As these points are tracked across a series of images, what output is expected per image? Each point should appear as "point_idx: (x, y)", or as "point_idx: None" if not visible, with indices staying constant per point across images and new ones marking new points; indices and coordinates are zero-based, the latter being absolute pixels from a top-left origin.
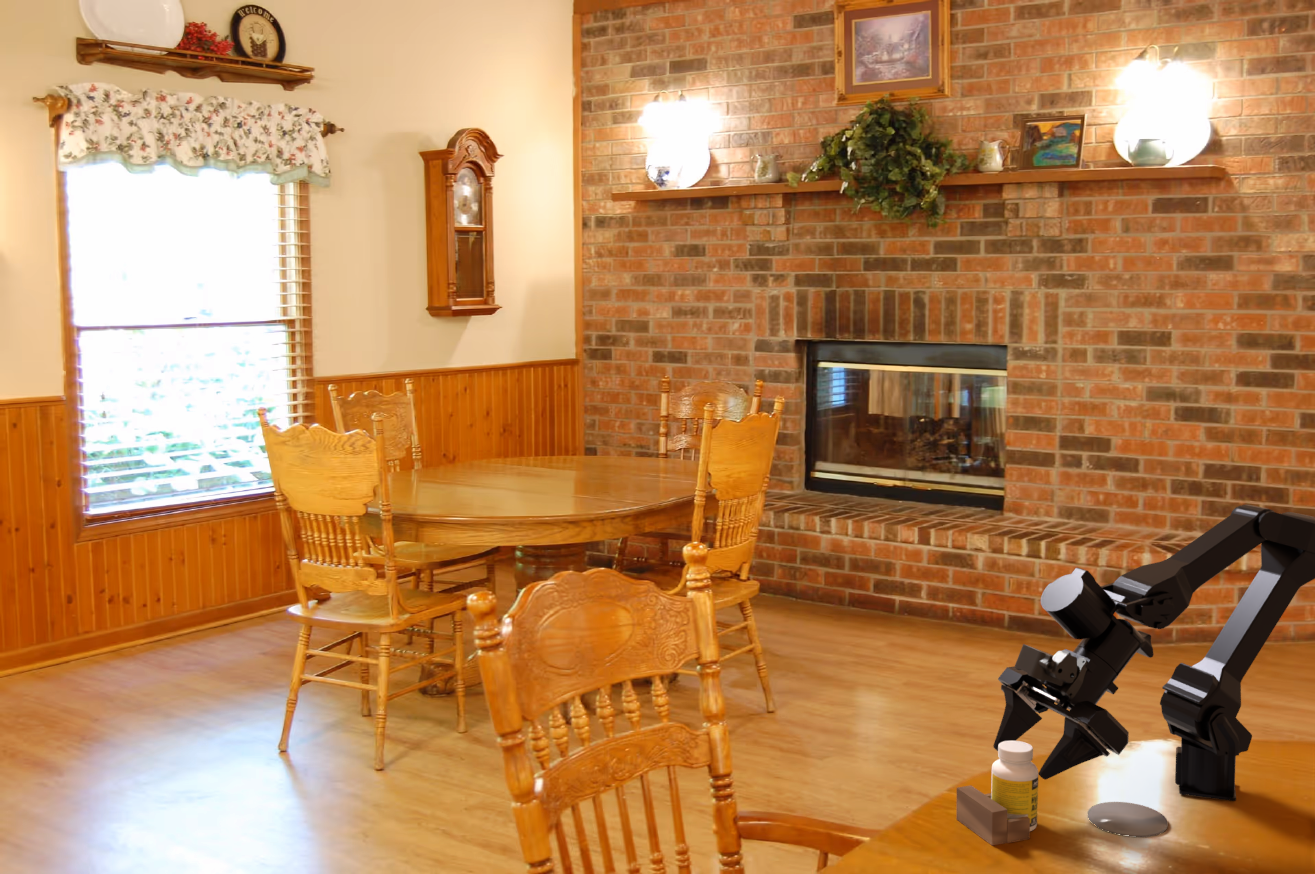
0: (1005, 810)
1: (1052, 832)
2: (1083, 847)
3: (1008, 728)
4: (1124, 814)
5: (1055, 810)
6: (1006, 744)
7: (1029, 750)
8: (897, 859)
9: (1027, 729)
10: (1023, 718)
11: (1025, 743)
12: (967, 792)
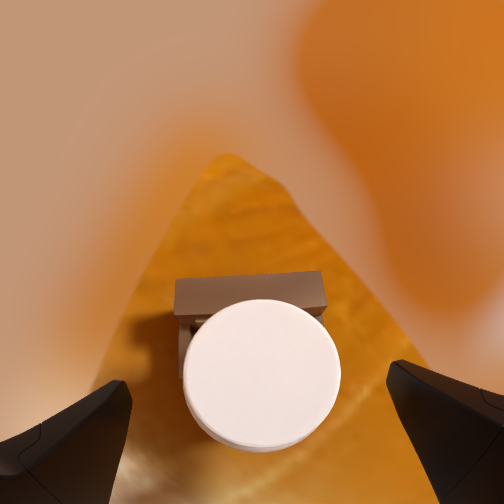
0: (174, 311)
1: (200, 438)
2: (130, 444)
3: (440, 412)
4: None
5: (292, 492)
6: (295, 343)
7: (193, 403)
8: (208, 179)
9: (435, 490)
10: (468, 480)
11: (281, 433)
12: (289, 279)
